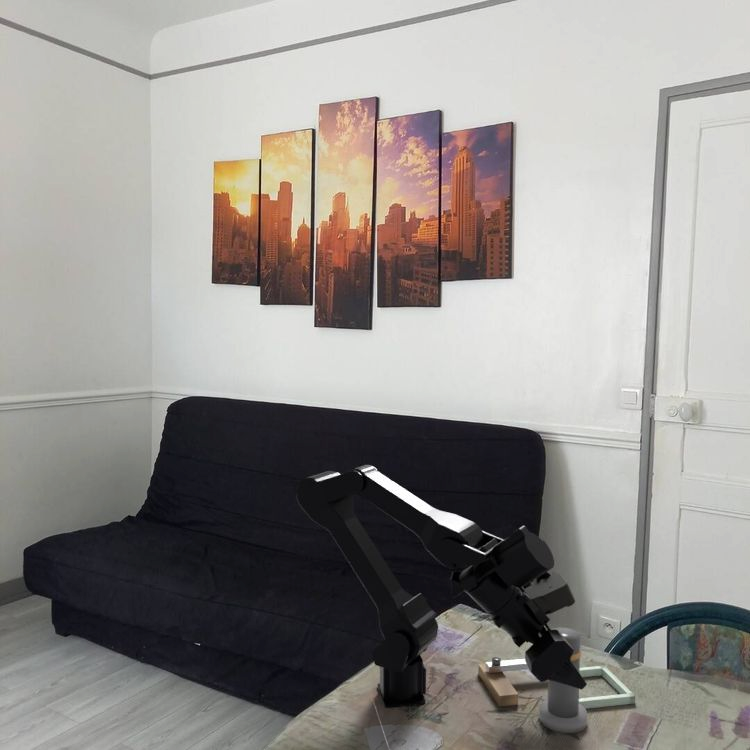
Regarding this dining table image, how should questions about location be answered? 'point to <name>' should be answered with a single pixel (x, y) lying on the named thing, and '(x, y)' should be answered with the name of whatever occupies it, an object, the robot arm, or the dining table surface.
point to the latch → (505, 665)
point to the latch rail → (498, 686)
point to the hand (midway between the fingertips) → (573, 670)
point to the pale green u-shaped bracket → (610, 700)
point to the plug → (564, 696)
